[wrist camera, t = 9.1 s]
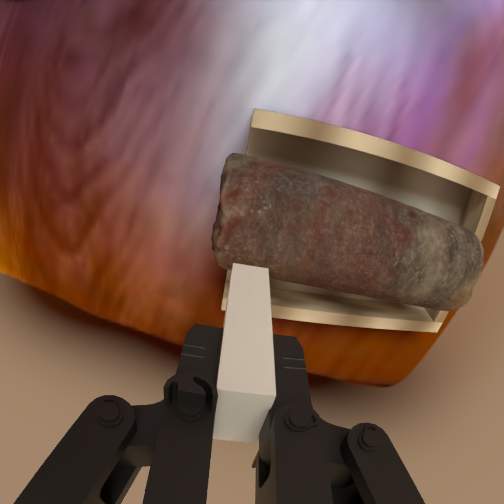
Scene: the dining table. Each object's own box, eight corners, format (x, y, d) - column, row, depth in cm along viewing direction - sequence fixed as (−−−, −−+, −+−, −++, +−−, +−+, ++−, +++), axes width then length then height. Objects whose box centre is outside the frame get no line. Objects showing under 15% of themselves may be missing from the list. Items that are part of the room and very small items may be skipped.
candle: (228, 168, 23) (440, 231, 25) (206, 261, 23) (425, 308, 25) (230, 132, 16) (496, 226, 17) (196, 266, 16) (480, 324, 17)
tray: (224, 289, 27) (221, 309, 24) (254, 108, 20) (254, 108, 18) (425, 314, 28) (437, 332, 26) (480, 177, 22) (499, 186, 19)
